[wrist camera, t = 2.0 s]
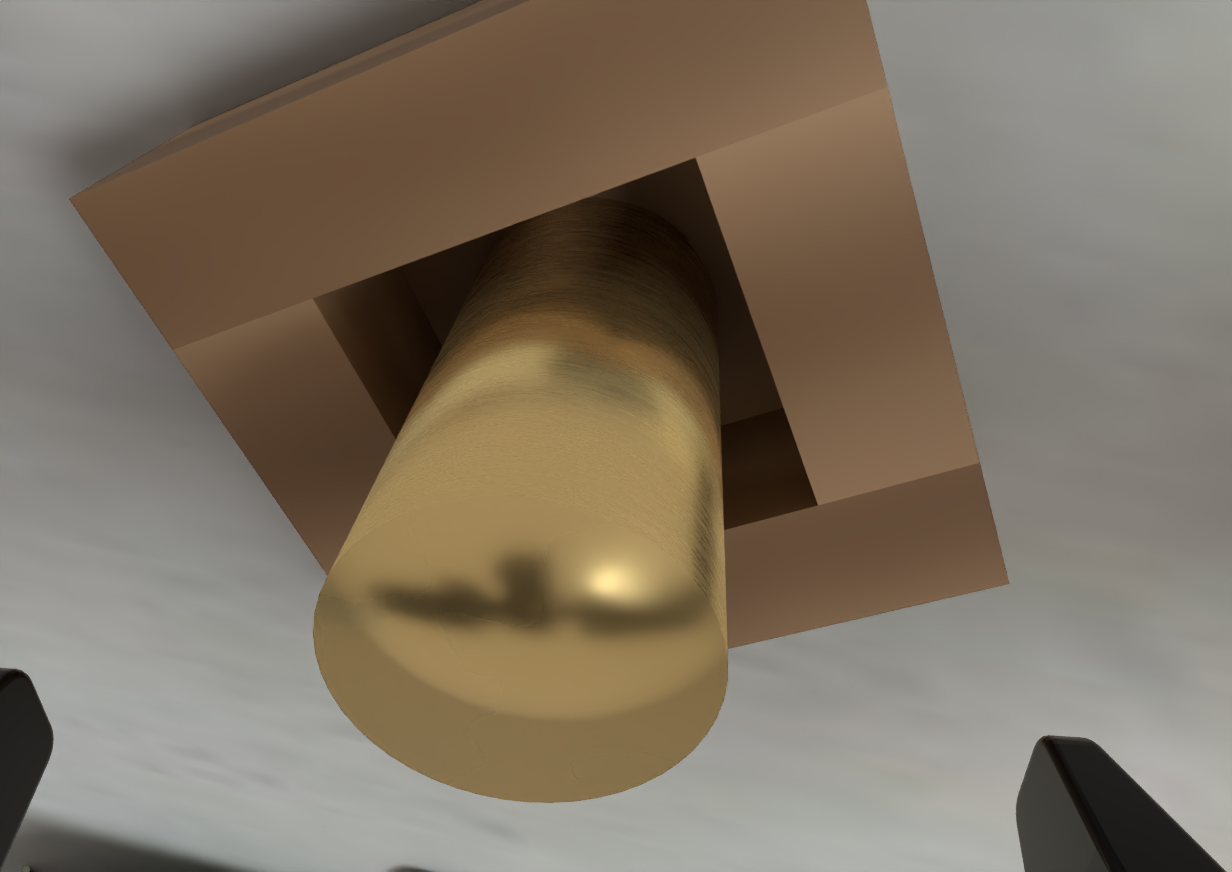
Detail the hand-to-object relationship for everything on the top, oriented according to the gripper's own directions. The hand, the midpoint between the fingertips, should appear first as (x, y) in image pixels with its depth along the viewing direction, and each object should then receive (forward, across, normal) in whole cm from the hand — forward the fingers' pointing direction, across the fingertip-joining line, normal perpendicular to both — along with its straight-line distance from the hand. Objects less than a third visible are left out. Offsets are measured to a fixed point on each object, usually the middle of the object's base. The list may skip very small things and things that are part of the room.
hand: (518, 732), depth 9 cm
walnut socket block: (+9, 0, 0) cm, 9 cm away
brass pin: (+9, 0, 0) cm, 9 cm away
